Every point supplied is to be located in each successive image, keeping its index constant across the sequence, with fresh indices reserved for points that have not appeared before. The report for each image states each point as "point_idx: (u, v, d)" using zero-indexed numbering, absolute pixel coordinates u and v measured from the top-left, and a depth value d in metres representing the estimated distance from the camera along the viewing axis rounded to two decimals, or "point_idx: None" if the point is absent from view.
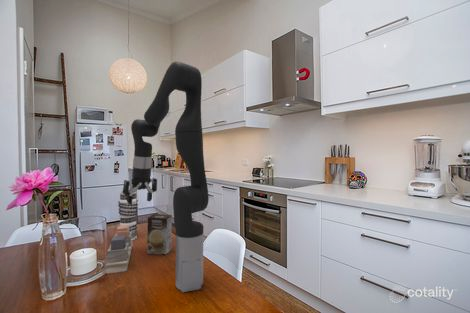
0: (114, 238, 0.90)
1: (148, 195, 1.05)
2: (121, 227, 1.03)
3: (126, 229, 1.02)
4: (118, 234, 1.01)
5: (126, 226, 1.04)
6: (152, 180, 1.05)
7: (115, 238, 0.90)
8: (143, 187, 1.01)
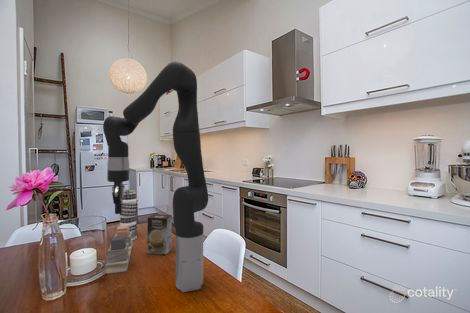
0: (114, 238, 0.90)
1: None
2: (121, 227, 1.03)
3: (126, 229, 1.02)
4: (118, 234, 1.01)
5: (126, 226, 1.04)
6: None
7: (115, 238, 0.90)
8: None
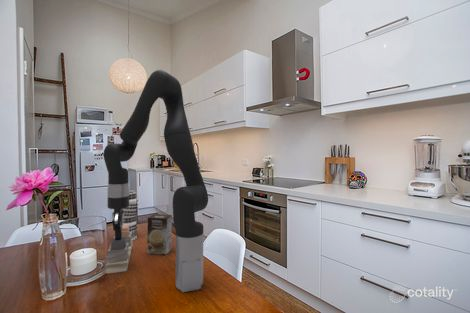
0: (114, 239, 0.90)
1: None
2: None
3: (126, 229, 1.02)
4: None
5: (126, 226, 1.04)
6: None
7: None
8: None
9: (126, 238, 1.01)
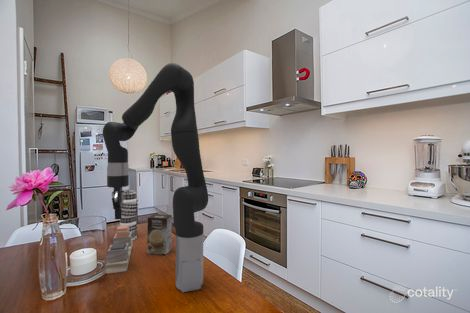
0: (114, 246, 0.90)
1: None
2: (121, 227, 1.03)
3: (126, 229, 1.02)
4: (118, 234, 1.01)
5: (126, 226, 1.04)
6: None
7: (115, 246, 0.90)
8: None
9: (126, 238, 1.01)
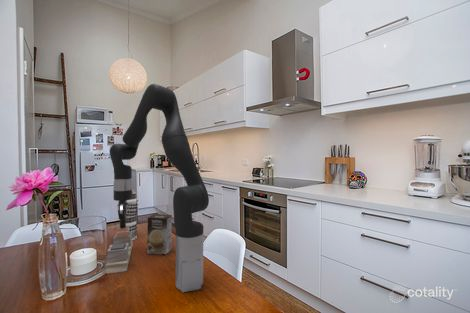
0: (114, 246, 0.90)
1: None
2: None
3: (126, 229, 1.02)
4: (118, 234, 1.01)
5: (126, 226, 1.04)
6: None
7: (115, 246, 0.90)
8: None
9: (126, 238, 1.01)
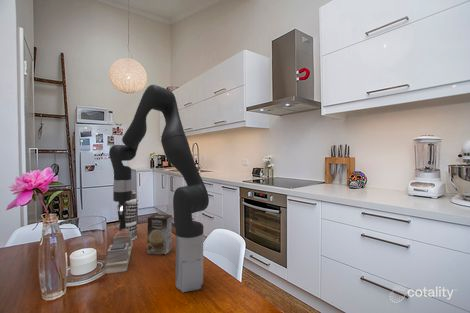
0: (114, 246, 0.90)
1: None
2: (121, 232, 1.03)
3: (126, 234, 1.02)
4: None
5: (126, 231, 1.04)
6: None
7: (115, 246, 0.90)
8: None
9: (126, 238, 1.01)
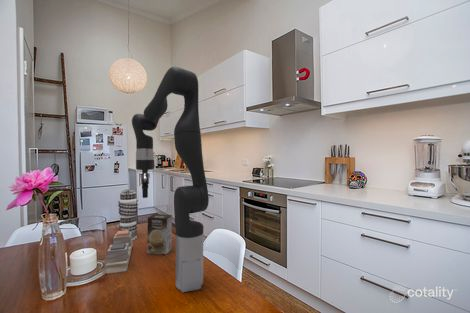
0: (114, 246, 0.90)
1: None
2: (121, 232, 1.03)
3: (126, 234, 1.02)
4: None
5: (126, 231, 1.04)
6: None
7: (115, 246, 0.90)
8: (147, 177, 1.04)
9: (126, 238, 1.01)
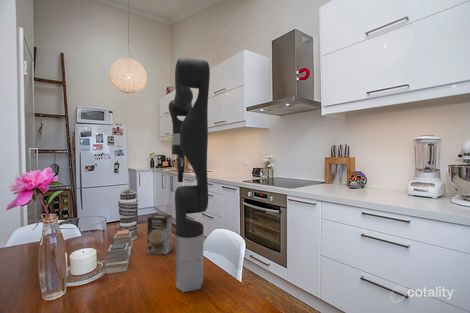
0: (114, 246, 0.90)
1: None
2: (121, 232, 1.03)
3: (126, 234, 1.02)
4: None
5: (126, 231, 1.04)
6: None
7: (115, 246, 0.90)
8: None
9: (126, 238, 1.01)
